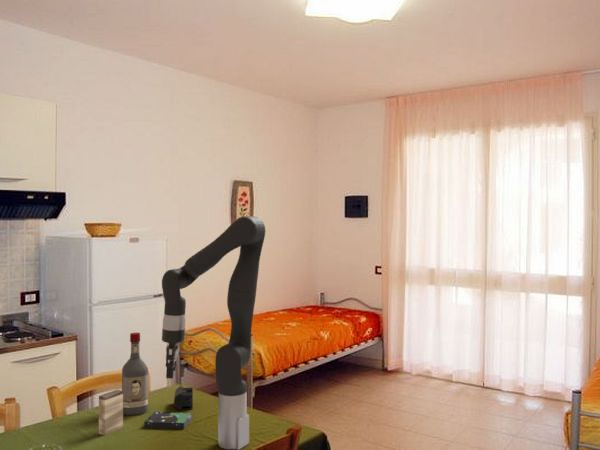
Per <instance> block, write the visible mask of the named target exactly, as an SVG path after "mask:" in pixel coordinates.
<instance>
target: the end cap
mask: <svg viewBox="0 0 600 450" xmlns="http://www.w3.org/2000/svg"><path fill="white" fill-rule="evenodd" d="M193 388H194V387H183V385H181V386H178V387H177V388H176V389H175V391H174V397H173V404H174V406H175V407H176V409H178V410H180V411H190V410H191V411H192V410H193V406H194V405H193V404H194V403H193V400H194V399H193V394H194V393H193V392H194V391H193V390H194V389H193Z"/></svg>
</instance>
